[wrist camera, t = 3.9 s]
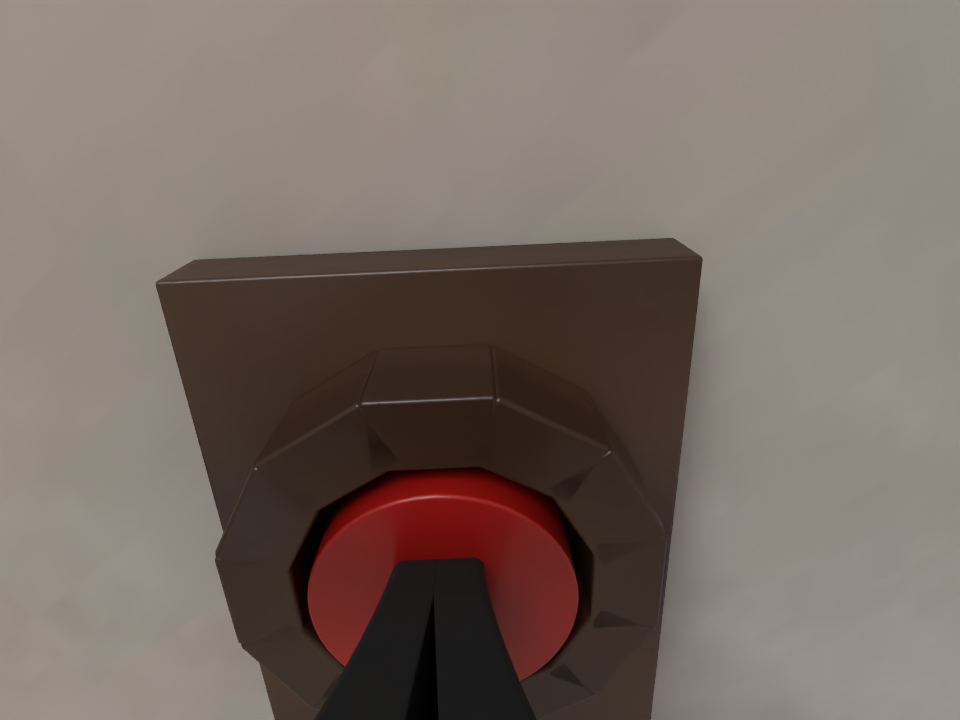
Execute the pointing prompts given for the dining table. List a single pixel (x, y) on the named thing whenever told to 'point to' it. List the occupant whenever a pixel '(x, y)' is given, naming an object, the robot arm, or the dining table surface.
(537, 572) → the light button
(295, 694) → the switch block
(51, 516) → the dining table surface
